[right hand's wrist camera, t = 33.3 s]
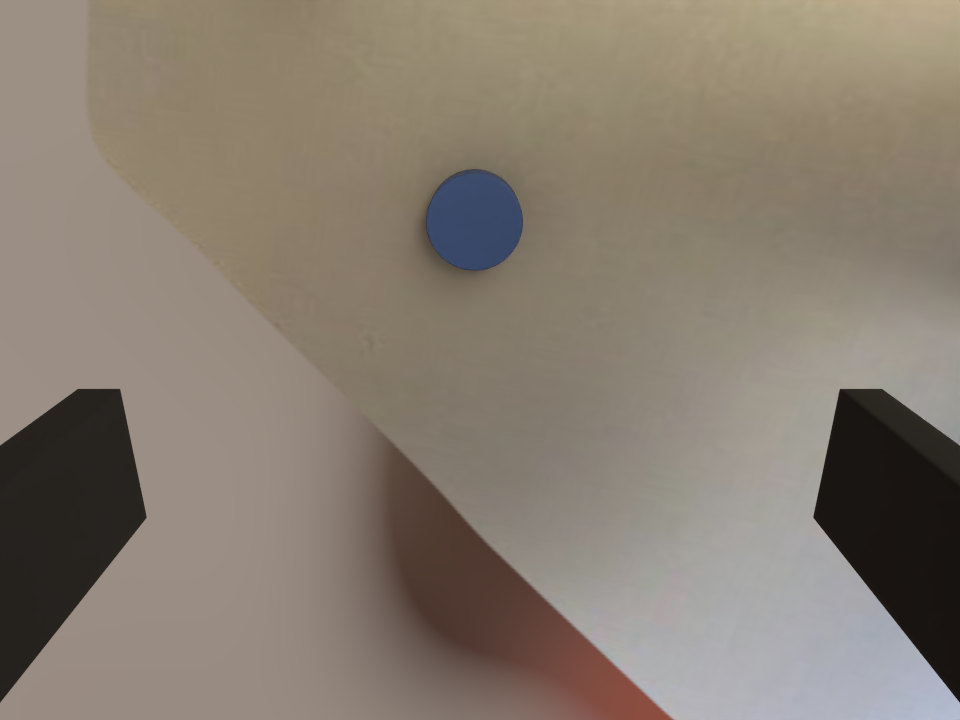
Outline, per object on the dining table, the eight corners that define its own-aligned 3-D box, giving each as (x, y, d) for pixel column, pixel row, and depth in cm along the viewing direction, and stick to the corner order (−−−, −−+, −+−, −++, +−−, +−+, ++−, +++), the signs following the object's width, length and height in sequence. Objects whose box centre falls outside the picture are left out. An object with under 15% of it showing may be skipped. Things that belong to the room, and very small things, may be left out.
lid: (411, 200, 37) (407, 206, 35) (491, 151, 36) (491, 154, 34) (459, 277, 39) (458, 287, 37) (536, 232, 38) (540, 239, 36)
